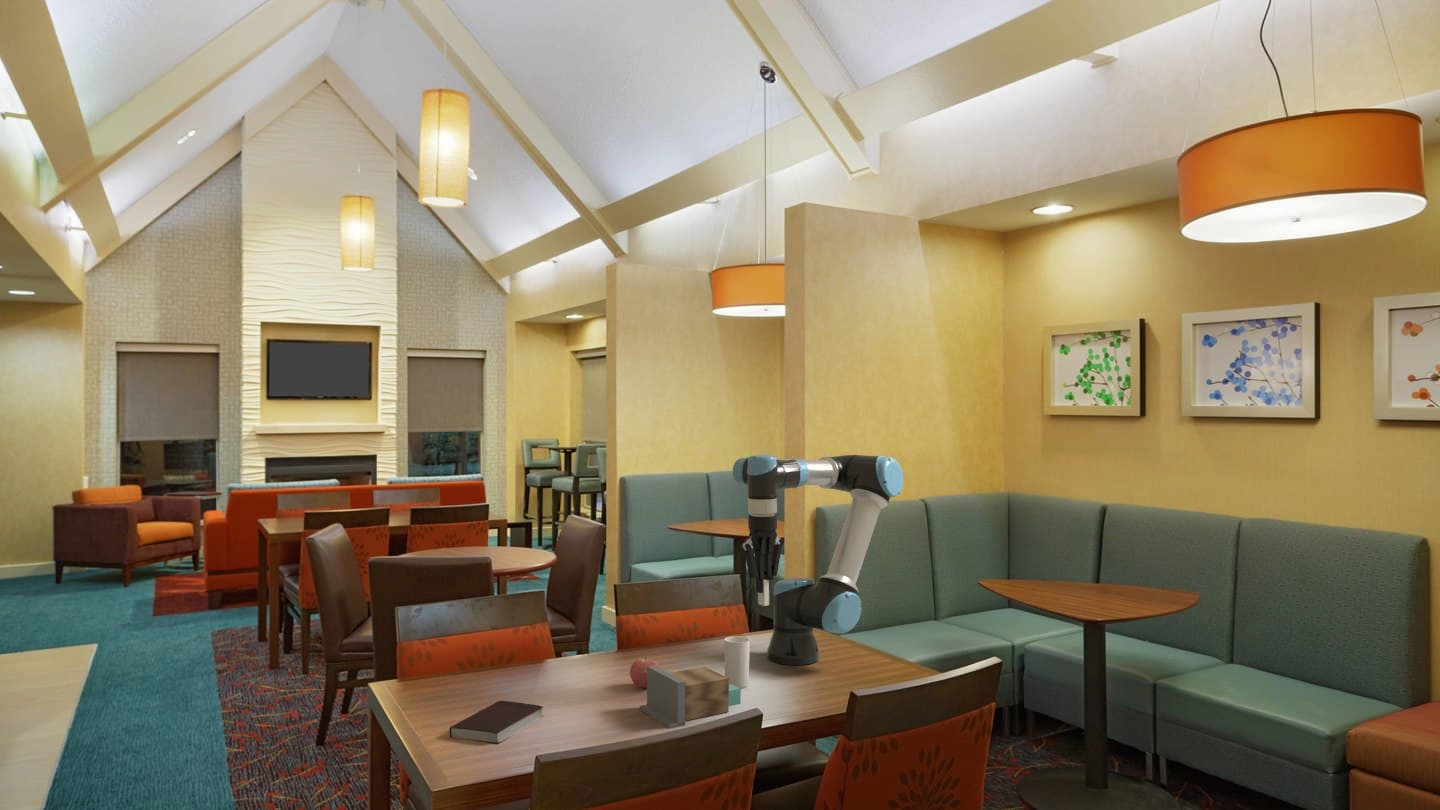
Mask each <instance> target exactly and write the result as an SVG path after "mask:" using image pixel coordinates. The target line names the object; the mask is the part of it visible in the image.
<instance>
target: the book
mask: <svg viewBox="0 0 1440 810" xmlns="http://www.w3.org/2000/svg"><path fill="white" fill-rule="evenodd" d="M543 708H544V706H541V705H538V704H532V703H525V702H517V701H509V700H508V701H507V700H499V701H495V702H494V703H493V704H490V705H488V706H487V707H485V708H483V709H481V710H480V711H478V712H476V713H474V714H472V715H470V716H468V717H466V718H464V719H463V720H461V721H458V722H457V723H455V724H453V725H451V726H450V727H449V737H450V738H456V739H458V738H459V739H465V740H468V741H472V742H480V743H485V744H491V745H492V744H493V745H499V744H501V743H503V742H505V741H506V740H508V739H509V738H511V737H512V736H513V735H515V734H517V733H519V732H520V731H521V730H523V729H524V728H526V727H528V726H529V725H531V724H533V723H534V722H535V721H537V720H540V719H541V718H543V717H544V715H543V714H542V712H543V711H542V710H543Z"/></svg>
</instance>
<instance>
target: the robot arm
mask: <svg viewBox="0 0 1440 810" xmlns="http://www.w3.org/2000/svg"><path fill="white" fill-rule="evenodd" d="M732 476H733V479H734V480H735V482H737V483H738V484H740V485H745V486H747V505H748V506H747V510H748V514H749V516H747V517H748V518H747V521H748V522H747V523H748V525H747V526H748V527H747V528H748V531H749V534H748V535H747V536H748V539H747V540H746V541H745V542H741V543H740V547H741V549H742V551H743V553H744V558H745V562H746V567H747V571H748V576H749V578H751V579H752V580H753V579H754V580H755V592H756V593H757V604H758V605H760V606H763V607H766V606H769V605H770V592H771V590H772V586H771V584H772V583H771V582H772V581H773V580H774V577H777V575H778V571H779V565H780V559H781V554H782V548H783V546H784V543H785V539H783V538H780V537H779V536H778V533H777V529H778V516H777V515H776V514H777V513H778V490H784V489H785V490H787V489H797V488H800V487H803V486H818V487H820V488H821V489H829V490H835V491H836V490H837V491H842V492H846V493H849V495H850V497H851V498H852V501H851V504H850V506H849V508H848V512H847V515H846V519H845V521H844V524H843V527H842V529H841V532H840V535H839V538H838V541H837V544H836V547H835V549H834V552H833V555H832V558H831V561H830V563H829V565H828V566H829V567H828V569H827V571H826V572H827V573H825V574H824V575H821V576H820V577H819V579H818V581H817V585H815V582H814V579H813V578H810V577H796V578H794V577H793V578H786V579H781V580H778V581H776V582H775V584H774V587H773V589H774V590H773V596H772V597H773V631H772V636H771V638H770V642H769V644H768V647H767V652H766V653H767V654H766V655H767V656H766V657H767V659H768V661H771V662H773V663H777V664H782V665H788V666H803V665H805V666H806V665H809V664H810V665H811V664H814V663H817V662H818V661H819V660H820V649H819V646H818V643H817V640H816V636H815V633H814V629H818V630H820V631H821V630H822V631H825V632H828V633H831V634H834V633H835V634H846V633H848V632H849V631H851V630H852V629H853V628H854V627H856V625H857V624H858V622H859V620H860V617H861V614H862V600H861V599H860V597H859V589H858V586H857V585H856V584H857V581H858V578H859V575H860V573H861V569H862V566H863V564H864V560H865V557H866V554H867V551H868V548H869V545H870V542H871V540H872V537H873V533H874V532H875V528H876V524H877V521H878V519H879V515H880V513H881V510H882V509H885V508H887V507H888V505H889V502H890V500H891V498H895V497H897V496H899V495H900V494H901V492H902V490H903V486H904V474H903V469H902V467H901V465H900V463H899V462H898V461H897V460H896V459H895V458H893V457H890V456H884V455H863V454H846V455H838V456H837V455H836V456H822V457H820V458H819V459H795V458H794V459H793V458H777V457H776V455H773V454H754V455H751V456H749V457H748V456H747V457H740V458H738V459H737V460H736V461H734V464H733V466H732Z"/></svg>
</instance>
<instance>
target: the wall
mask: <svg viewBox="0 0 1440 810" xmlns="http://www.w3.org/2000/svg"><path fill="white" fill-rule="evenodd" d="M670 673H671V672H668V671H667V670H665V669H662V668H661V667H659V666H658V667H657V666H655V665H654V666H648V667H647V688H646V704H643V705H641V704H640V705H639V710H640V711H642V712H643V713H644V714H646V715H648V716H649V717H651V718H653V719H654V720H656V721H658V722H659V723H661V724H662V725H664V726H665V727H667V728H669V729H671V728H672V729H673V728H677V727H682V726H683V727H684V726H686V721H685V686H686V681H684V680H682V679H680V678H678V677H676V676H674V675H672V674H670Z"/></svg>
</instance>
